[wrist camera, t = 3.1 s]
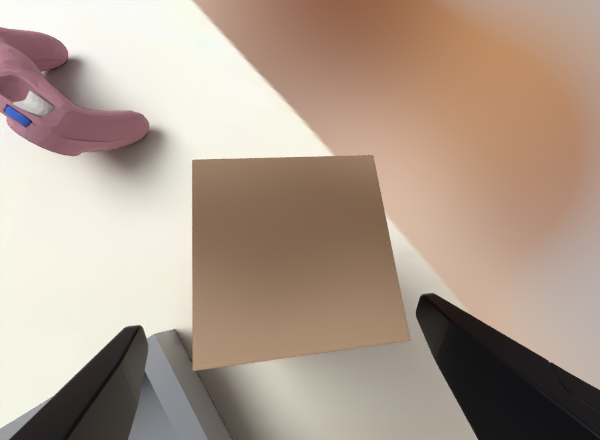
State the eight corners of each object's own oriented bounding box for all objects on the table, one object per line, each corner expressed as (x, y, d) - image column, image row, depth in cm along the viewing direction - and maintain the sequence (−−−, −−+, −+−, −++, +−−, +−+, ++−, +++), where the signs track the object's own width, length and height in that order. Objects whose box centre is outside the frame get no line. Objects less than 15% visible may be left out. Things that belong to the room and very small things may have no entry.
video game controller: (34, 93, 22) (-114, 40, 15) (65, 41, 21) (-73, -39, 14) (125, 177, 21) (13, 163, 14) (161, 127, 20) (63, 85, 13)
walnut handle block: (310, 320, 18) (410, 340, 6) (236, 329, 17) (192, 371, 5) (302, 249, 19) (373, 155, 7) (233, 255, 19) (192, 160, 7)
